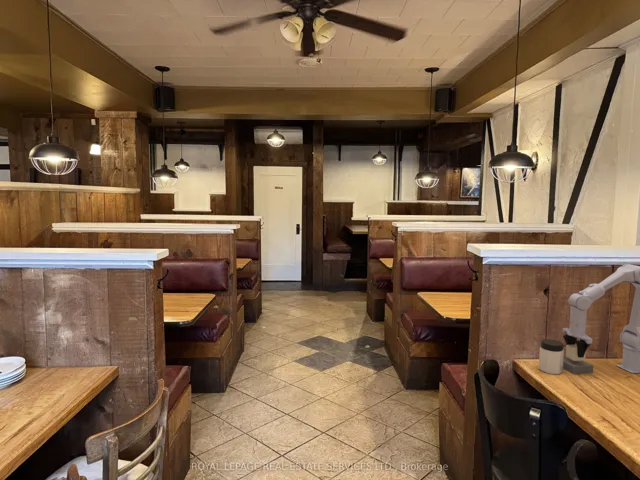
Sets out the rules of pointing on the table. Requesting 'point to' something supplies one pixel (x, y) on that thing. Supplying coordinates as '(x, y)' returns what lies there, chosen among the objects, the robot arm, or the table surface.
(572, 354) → the cream cube
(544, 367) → the jar
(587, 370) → the charcoal base
